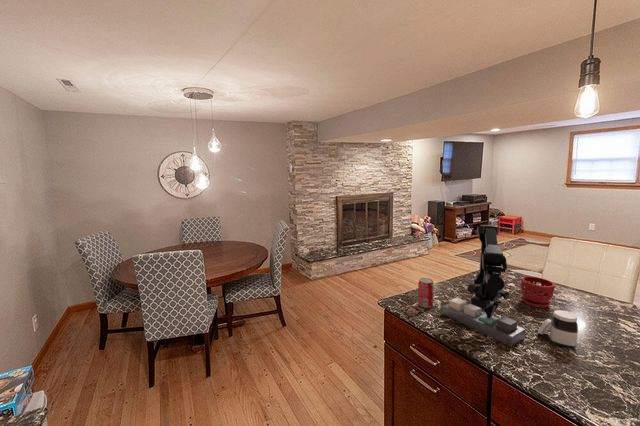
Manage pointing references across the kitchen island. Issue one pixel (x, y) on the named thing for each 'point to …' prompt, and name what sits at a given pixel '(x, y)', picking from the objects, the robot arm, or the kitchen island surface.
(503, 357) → the kitchen island surface
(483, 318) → the key teal
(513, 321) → the key black
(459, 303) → the key ivory
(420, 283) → the soda can
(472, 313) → the key grey
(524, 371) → the kitchen island surface
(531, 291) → the plant pot
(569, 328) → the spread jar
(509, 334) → the key panel
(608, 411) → the kitchen island surface
